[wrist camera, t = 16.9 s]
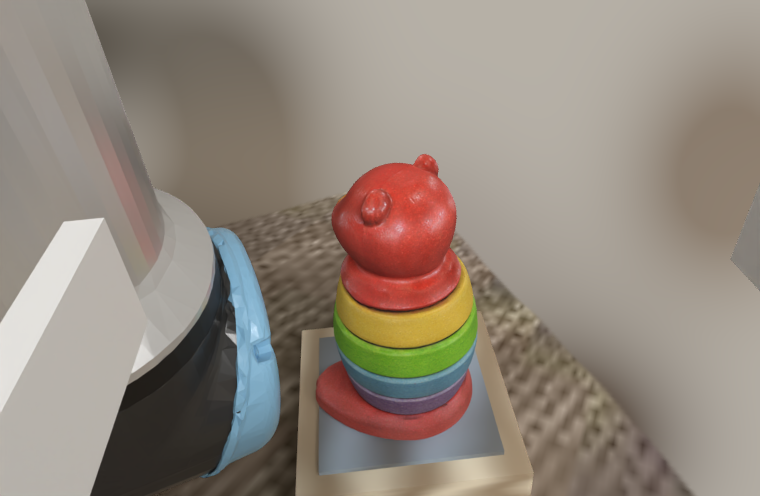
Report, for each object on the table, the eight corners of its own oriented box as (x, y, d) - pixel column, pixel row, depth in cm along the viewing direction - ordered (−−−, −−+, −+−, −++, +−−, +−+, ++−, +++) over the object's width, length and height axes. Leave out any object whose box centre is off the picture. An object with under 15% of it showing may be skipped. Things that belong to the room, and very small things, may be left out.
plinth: (304, 532, 38) (294, 496, 36) (308, 363, 50) (301, 327, 48) (528, 507, 39) (534, 469, 36) (479, 344, 51) (481, 307, 48)
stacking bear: (401, 316, 48) (388, 114, 37) (506, 375, 42) (526, 157, 32) (303, 396, 42) (255, 183, 31) (410, 479, 36) (395, 252, 25)
